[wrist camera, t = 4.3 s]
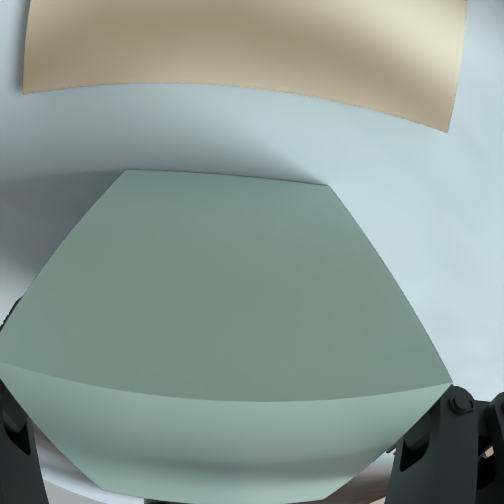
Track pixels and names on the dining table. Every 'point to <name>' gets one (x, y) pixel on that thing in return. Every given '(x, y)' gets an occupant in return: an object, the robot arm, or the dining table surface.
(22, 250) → the dining table surface
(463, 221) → the dining table surface
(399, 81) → the post board
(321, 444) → the mint foam cube
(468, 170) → the dining table surface
